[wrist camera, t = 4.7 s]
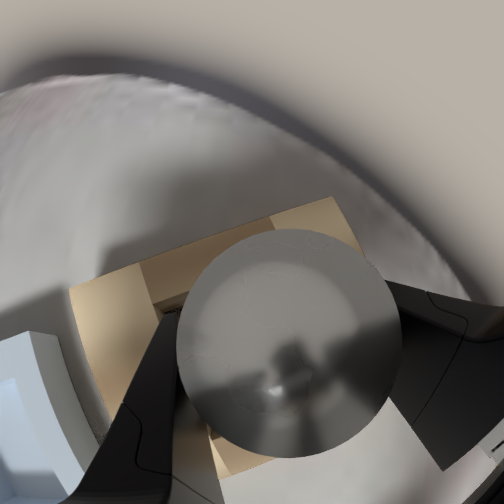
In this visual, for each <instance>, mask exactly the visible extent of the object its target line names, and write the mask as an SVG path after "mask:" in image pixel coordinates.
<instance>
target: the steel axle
mask: <svg viewBox="0 0 504 504" xmlns="http://www.w3.org/2000/svg"><path fill="white" fill-rule="evenodd" d="M176 351H177V363H178V368H179V372H180V377H181V380H182V383H183V386H184V388H185V391H186V394H187V395H188V397H189V399H190V401H191V403H192V405H193V406H194V408H195V409H196V411H197V412H198V413H199V415H200V416H201V417H202V419H203V420H204V421H205V422H206V423H207V424H208V425H209V426H210V427H211V428H212V429H213V430H214V431H215V432H216V433H217V434H219V435H220V436H222V437H223V438H224V439H226V440H227V441H229V442H230V443H232V444H234V445H236V446H238V447H240V448H242V449H244V450H247V451H250V452H253V453H256V454H259V455H264V456H269V457H277V458H296V457H305V456H310V455H314V454H319V453H322V452H324V451H327V450H330V449H332V448H335V447H336V446H338V445H340V444H342V443H344V442H346V441H347V440H349V439H350V438H352V437H353V436H355V435H356V434H357V433H359V432H360V431H361V430H362V429H363V428H364V427H365V426H366V425H368V424H369V423H370V421H371V420H372V419H373V418H374V417H375V416H376V414H377V413H378V412H379V411H380V409H381V408H382V406H383V405H384V403H385V402H386V400H387V398H388V396H389V394H390V392H391V390H392V388H393V386H394V383H395V380H396V377H397V374H398V370H399V366H400V361H401V352H402V331H401V323H400V318H399V314H398V310H397V306H396V303H395V301H394V298H393V296H392V293H391V291H390V290H389V288H388V286H387V284H386V282H385V281H384V279H383V278H382V276H381V275H380V273H379V272H378V271H377V270H376V268H375V267H374V266H373V265H372V264H371V263H370V262H369V261H368V260H367V259H366V258H365V257H364V256H363V255H362V254H361V253H359V252H358V251H357V250H355V249H354V248H352V247H351V246H349V245H348V244H346V243H344V242H342V241H340V240H338V239H336V238H334V237H331V236H329V235H326V234H323V233H319V232H315V231H311V230H302V229H279V230H272V231H267V232H263V233H260V234H256V235H253V236H251V237H248V238H246V239H244V240H241V241H239V242H238V243H236V244H234V245H233V246H231V247H229V248H228V249H226V250H225V251H224V252H222V253H221V254H220V255H219V256H217V257H216V258H215V259H214V260H213V261H212V262H211V263H210V264H209V265H208V266H207V267H206V268H205V269H204V270H203V272H202V273H201V275H200V276H199V277H198V279H197V280H196V281H195V283H194V285H193V286H192V288H191V290H190V292H189V294H188V296H187V298H186V300H185V303H184V306H183V308H182V311H181V315H180V319H179V324H178V328H177V341H176Z"/></svg>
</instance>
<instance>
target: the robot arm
mask: <svg viewBox="0 0 504 504" xmlns="http://www.w3.org/2000/svg"><path fill="white" fill-rule="evenodd" d="M384 281H385V282H386V284H387V286H388V288H389V290H390V291H391V293H392V296H393V298H394V301H395V303H396V306H397V310H398V314H399V318H400V323H401V331H402V352H401V361H400V366H399V370H398V374H397V377H396V380H395V383H394V386H393V388H392V390H391V392H390V394H389V398H390V399H391V400H392V402H393V403H394V404H395V406H396V407H397V408H398V410H399V411H400V413H401V414H402V415H403V417H404V418H405V419H406V421H407V422H408V424H409V425H410V426H411V428H412V429H413V431H414V432H415V434H416V435H417V436H418V438H419V439H420V441H421V442H422V443H423V445H424V446H425V448H426V449H427V450H428V452H429V453H430V455H431V456H432V457H433V459H434V460H435V462H436V463H437V465H438V466H439V467H440V469H441V470H442V471H444V470H446V469H447V468H448V467H450V466H451V465H452V464H454V463H455V462H456V461H458V460H459V459H460V458H461V457H463V456H464V455H465V454H466V453H467V452H469V451H470V450H471V449H472V448H473V447H474V446H475V445H477V444H478V445H479V446H480V448H481V449H482V450H483V451H484V452H485V453H486V454H487V456H488V457H489V458H493V459H494V460H495V462H496V463H497V464H498V466H497V467H496V468H495V469H494V470H493V472H492V473H491V474H490V475H489V476H488V477H487V478H486V480H485V481H484V482H483V483H482V484H481V485H480V486H479V487H478V488H477V489H476V490H475V491H474V492H473V493H472V494H471V495H470V496H469V497H468V498H467V499H466V500H465V501H464V502H463V503H462V504H504V307H499V306H493V305H488V304H482V303H477V302H472V301H467V300H462V299H457V298H452V297H448V296H444V295H440V294H436V293H432V292H429V291H427V292H426V291H425V290H421V289H417V288H413V287H410V286H406V285H402V284H398V283H395V282H391V281H387V280H384ZM178 324H179V317H178V315H177V313H171V314H167V315H164V316H163V317H162V318H161V320H160V322H159V324H158V326H157V328H156V330H155V332H154V334H153V336H152V338H151V340H150V342H149V345H148V347H147V349H146V351H145V353H144V355H143V357H142V359H141V361H140V363H139V365H138V367H137V370H136V372H135V374H134V376H133V378H132V380H131V382H130V385H129V387H128V389H127V391H126V393H125V396H124V398H123V400H122V402H123V403H121V404H120V407H119V409H118V411H117V413H116V415H115V418H114V420H113V422H112V424H111V426H110V428H109V430H108V432H107V434H106V436H105V438H104V440H103V441H102V443H101V445H100V447H99V449H98V451H97V452H96V454H95V456H94V458H93V459H92V461H91V463H90V465H89V467H88V468H87V470H86V472H85V474H84V476H83V478H82V479H81V481H80V483H79V484H78V486H77V487H76V489H75V490H74V491H73V492H72V493H71V494H70V495H69V496H68V497H67V498H66V499H65V500H63V501H61V502H59V503H57V504H225V502H224V499H223V495H222V491H221V487H220V483H219V479H218V475H217V471H216V467H215V462H214V458H213V454H212V449H211V444H210V440H209V435H208V430H207V425H206V422H205V421H204V420H203V419H202V417H201V416H200V415H199V413H198V412H197V411H196V409H195V408H194V406H193V405H192V403H191V401H190V399H189V397H188V395H187V394H186V391H185V388H184V386H183V383H182V380H181V377H180V372H179V368H178V363H177V351H176V341H177V328H178Z"/></svg>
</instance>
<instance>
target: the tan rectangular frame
mask: <svg viewBox="0 0 504 504" xmlns="http://www.w3.org/2000/svg"><path fill="white" fill-rule="evenodd" d="M279 229H302V230H311V231H315V232H319V233H323V234H326V235H329V236H331V237H334V238H336V239H338V240H340V241H342V242H344V243H346V244H348V245H349V246H351V247H352V248H354V249H355V250H357V251H358V252H359V253H361V254H362V255H363V256H364V257H365V255H364V253H363V251H362V249H361V247H360V245H359V243H358V241H357V240H356V238H355V236H354V234H353V232H352V230H351V228H350V226H349V225H348V223H347V221H346V219H345V217H344V215H343V214H342V212H341V210H340V208H339V206H338V205H337V203H336V201H335V199H334V198H333V196H330V197H327V198H324V199H320V200H317V201H314V202H311V203H308V204H305V205H302V206H298V207H295V208H292V209H289V210H286V211H283V212H280V213H277V214H274V215H271V216H268V217H265V218H262V219H259V220H256V221H253V222H250V223H247V224H244V225H241V226H238V227H235V228H232V229H229V230H226V231H223V232H220V233H218V234H215V235H212V236H209V237H206V238H203V239H200V240H198V241H195V242H192V243H189V244H186V245H183V246H181V247H178V248H175V249H172V250H170V251H167V252H164V253H161V254H159V255H156V256H153V257H150V258H148V259H145V260H142V261H140V262H137V263H134V264H132V265H129V266H126V267H124V268H121V269H118V270H116V271H113V272H111V273H108V274H105V275H103V276H100V277H98V278H95V279H93V280H90V281H87V282H85V283H82V284H80V285H77V286H75V287H72V288H70V289H68V290H69V294H70V299H71V303H72V307H73V312H74V316H75V319H76V323H77V327H78V330H79V334H80V337H81V341H82V344H83V347H84V350H85V353H86V356H87V359H88V362H89V365H90V368H91V371H92V374H93V376H94V379H95V382H96V384H97V387H98V389H99V392H100V394H101V397H102V399H103V402H104V404H105V406H106V408H107V411H108V413H109V415H110V417H111V420H112V422H113V420H114V418H115V415H116V413H117V411H118V409H119V407H120V404H121V403H123V402H122V400H123V398H124V396H125V393H126V391H127V389H128V387H129V385H130V382H131V380H132V378H133V376H134V374H135V372H136V370H137V367H138V365H139V363H140V361H141V359H142V357H143V355H144V353H145V351H146V349H147V347H148V345H149V342H150V340H151V338H152V336H153V334H154V332H155V330H156V328H157V326H158V324H159V322H160V320H161V318H162V317H163V316H164V313H165V312H168V311H170V310H173V309H176V308H179V307H181V306H184V303H185V300H186V298H187V296H188V294H189V292H190V290H191V288H192V286H193V285H194V283H195V281H196V280H197V279H198V277H199V276H200V275H201V273H202V272H203V270H204V269H205V268H206V267H207V266H208V265H209V264H210V263H211V262H212V261H213V260H214V259H215V258H216V257H217V256H219V255H220V254H221V253H222V252H224V251H225V250H226V249H228V248H229V247H231V246H233V245H234V244H236V243H238V242H239V241H241V240H244V239H246V238H248V237H251V236H253V235H256V234H260V233H263V232H267V231H272V230H279ZM365 258H366V257H365ZM206 425H207V430H208V435H209V440H210V444H211V449H212V454H213V458H214V462H215V467H216V471H217V475H218V479H219V480H220V479H223V478H226V477H229V476H232V475H234V474H237V473H240V472H243V471H245V470H248V469H251V468H253V467H256V466H258V465H261V464H263V463H265V462H268V461H270V460H273V459H275V458H277V457H269V456H264V455H259V454H256V453H253V452H250V451H247V450H244V449H242V448H240V447H238V446H236V445H234V444H232V443H230V442H229V441H227V440H226V439H224V438H223V437H222V436H220V435H219V434H217V433H216V432H215V431H214V430H213V429H212V428H211V427H210V426H209V425H208V424H207V423H206Z"/></svg>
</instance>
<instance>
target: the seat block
mask: <svg viewBox="0 0 504 504" xmlns="http://www.w3.org/2000/svg"><path fill="white" fill-rule="evenodd" d="M99 447H100V446H99V444H98V442H97V440H96V438H95V436H94V434H93V432H92V430H91V428H90V426H89V424H88V421H87V419H86V417H85V415H84V412H83V410H82V408H81V405H80V403H79V400H78V398H77V395H76V393H75V390H74V387H73V385H72V382H71V379H70V376H69V373H68V371H67V368H66V364H65V361H64V358H63V355H62V352H61V348H60V345H59V341H58V337H57V336H56V335H50V334H44V333H39V332H33V331H26V332H24V333H21V334H18V335H16V336H13V337H10V338H8V339H5V340H2V341H0V504H57V503H59V502H61V501H63V500H65V499H66V498H67V497H68V496H69V495H70V494H71V493H72V492H73V491H74V490H75V489H76V487H77V486H78V484H79V483H80V481H81V479H82V478H83V476H84V474H85V472H86V470H87V468H88V467H89V465H90V463H91V461H92V459H93V458H94V456H95V454H96V452H97V451H98V449H99Z"/></svg>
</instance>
